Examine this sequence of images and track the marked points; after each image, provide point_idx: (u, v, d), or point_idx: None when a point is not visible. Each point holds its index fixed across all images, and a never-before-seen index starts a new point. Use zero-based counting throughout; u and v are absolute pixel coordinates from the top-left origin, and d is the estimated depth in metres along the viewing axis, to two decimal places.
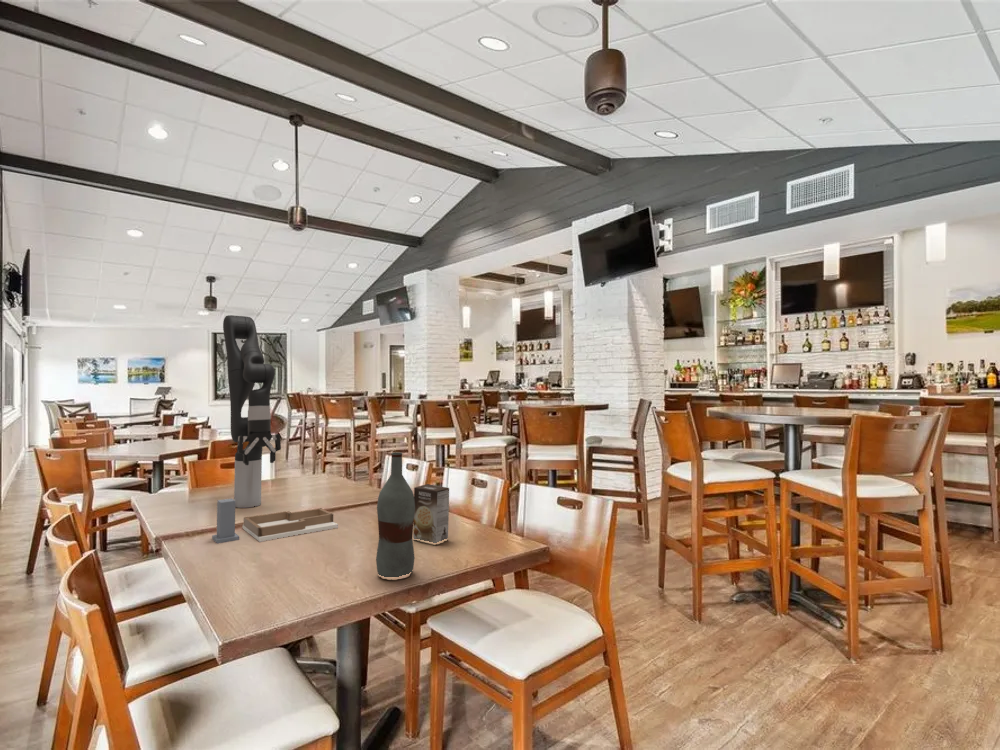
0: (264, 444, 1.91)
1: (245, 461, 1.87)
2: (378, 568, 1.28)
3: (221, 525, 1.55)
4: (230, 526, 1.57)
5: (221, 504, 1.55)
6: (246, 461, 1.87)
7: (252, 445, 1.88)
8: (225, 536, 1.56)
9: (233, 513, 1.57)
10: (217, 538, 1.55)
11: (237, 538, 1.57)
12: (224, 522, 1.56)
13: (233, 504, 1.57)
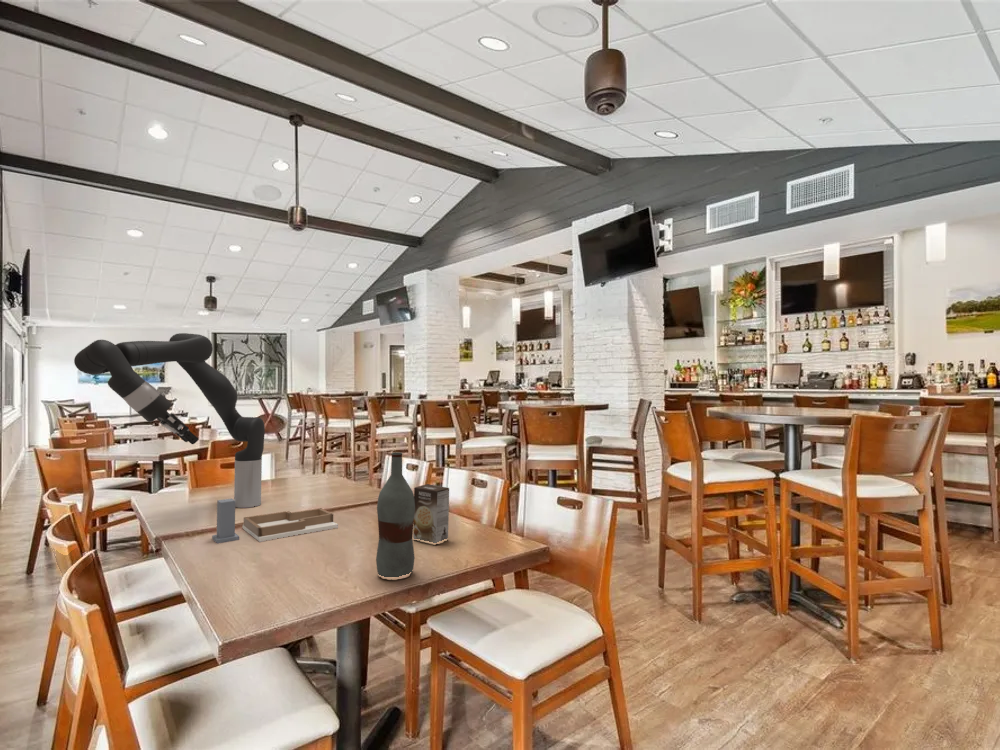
0: None
1: None
2: (378, 568, 1.28)
3: (221, 525, 1.55)
4: (230, 526, 1.57)
5: (221, 504, 1.55)
6: None
7: (167, 428, 1.53)
8: (225, 536, 1.56)
9: (233, 513, 1.57)
10: (217, 538, 1.55)
11: (237, 538, 1.57)
12: (224, 522, 1.56)
13: (233, 504, 1.57)
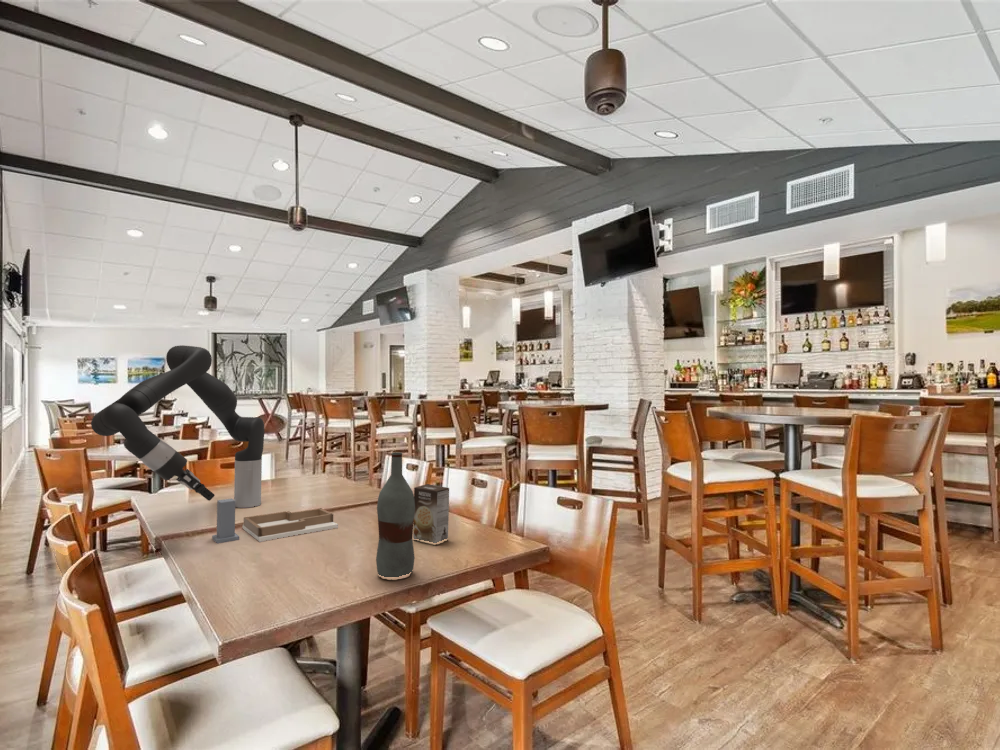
0: None
1: None
2: (378, 568, 1.28)
3: (221, 525, 1.55)
4: (230, 526, 1.57)
5: (221, 504, 1.55)
6: None
7: None
8: (225, 536, 1.56)
9: (233, 513, 1.57)
10: (217, 538, 1.55)
11: (237, 538, 1.57)
12: (224, 522, 1.56)
13: (233, 504, 1.57)
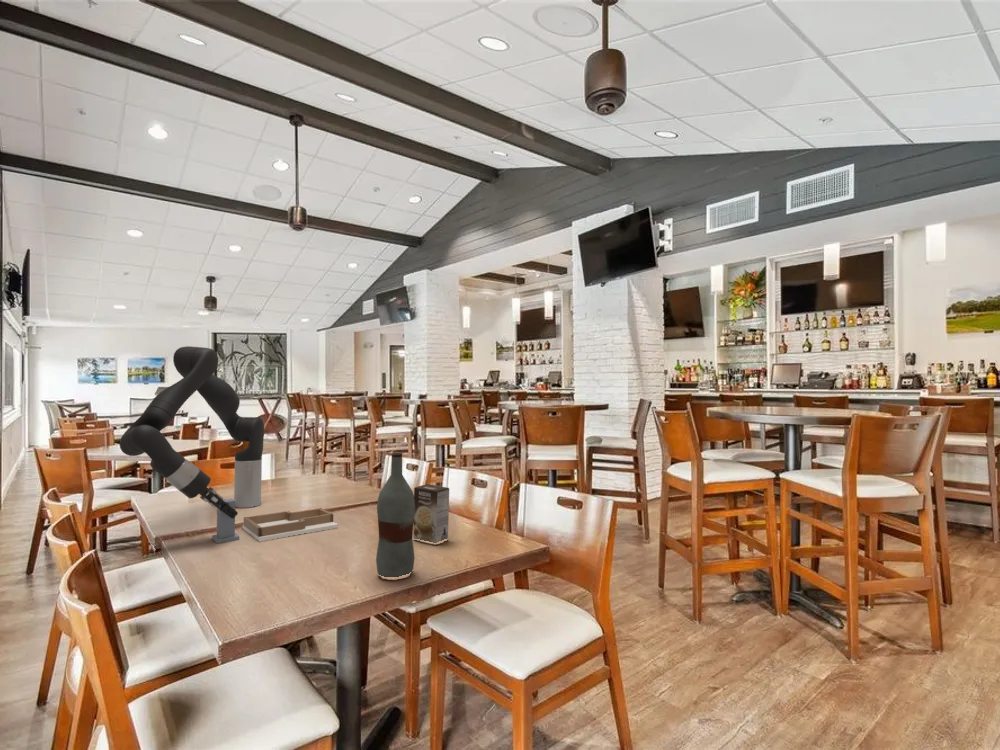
0: None
1: None
2: (378, 568, 1.28)
3: (221, 525, 1.55)
4: (230, 526, 1.57)
5: (221, 504, 1.55)
6: None
7: None
8: (225, 536, 1.56)
9: None
10: (217, 538, 1.55)
11: (237, 538, 1.57)
12: (224, 521, 1.56)
13: (233, 504, 1.57)
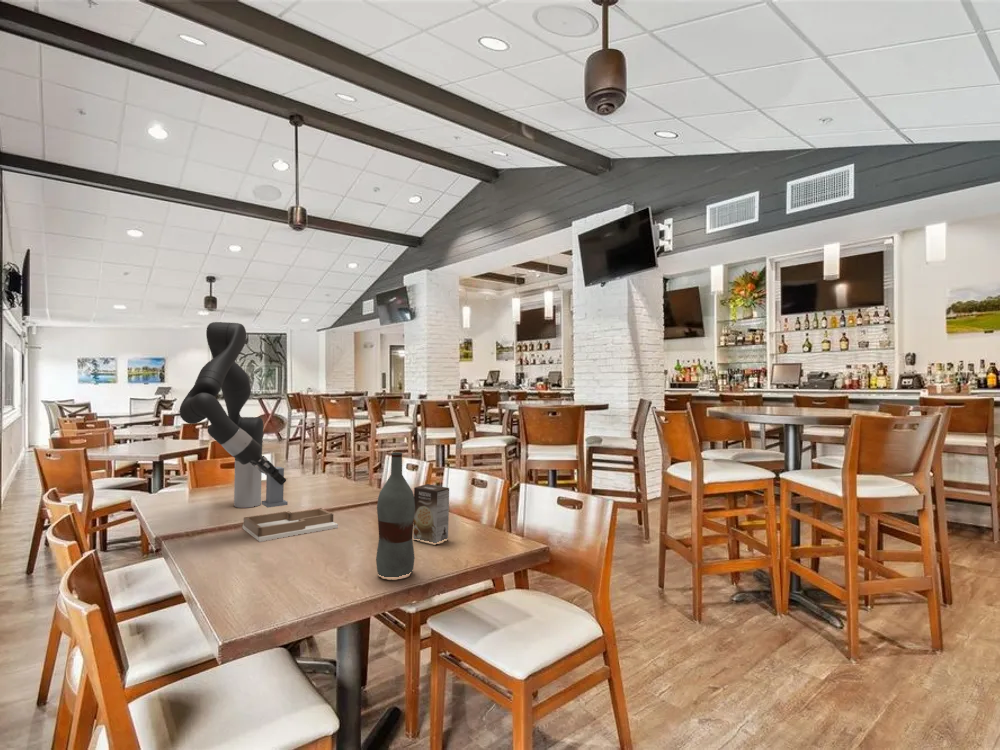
0: None
1: None
2: (378, 568, 1.28)
3: (271, 490, 1.64)
4: (279, 492, 1.66)
5: (271, 471, 1.64)
6: None
7: (258, 470, 1.66)
8: (274, 501, 1.65)
9: None
10: (267, 503, 1.64)
11: (285, 503, 1.66)
12: (274, 487, 1.65)
13: (282, 471, 1.67)
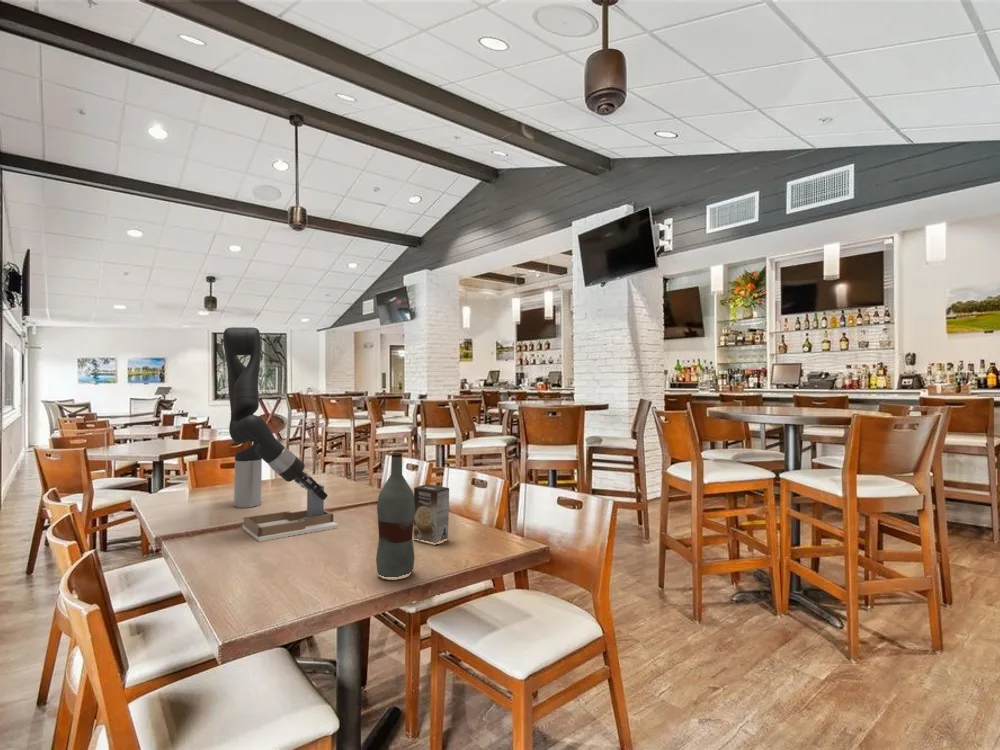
0: None
1: None
2: (378, 568, 1.28)
3: (312, 507, 1.73)
4: (320, 508, 1.74)
5: None
6: None
7: (300, 485, 1.75)
8: None
9: None
10: None
11: None
12: (315, 504, 1.73)
13: (322, 489, 1.75)
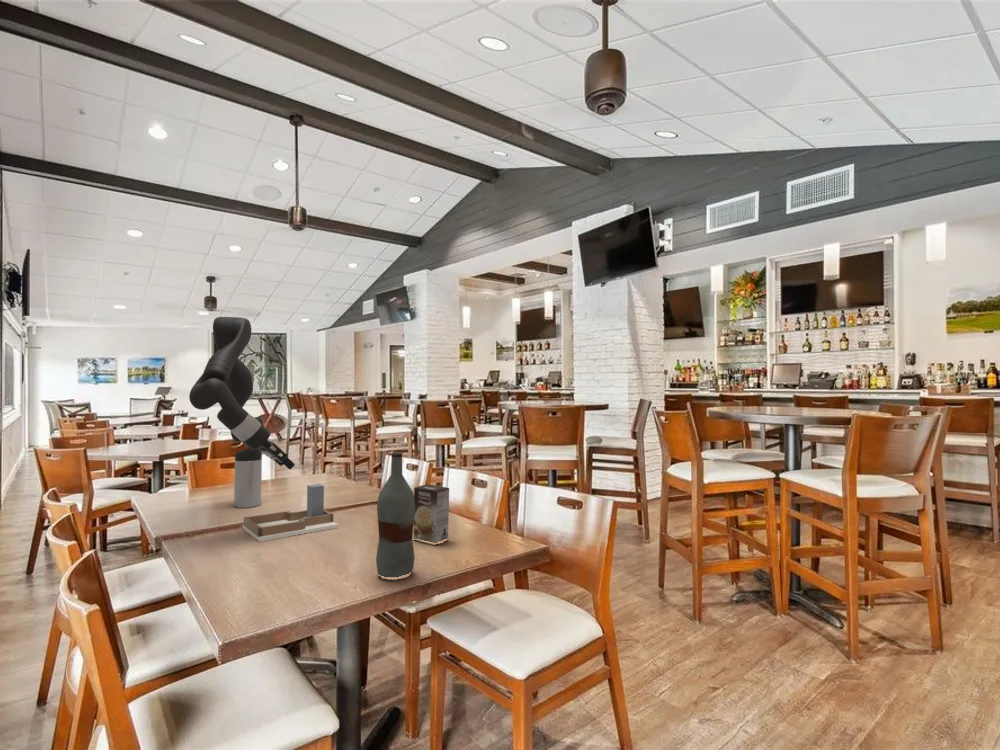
0: None
1: None
2: (378, 568, 1.28)
3: (312, 507, 1.73)
4: (320, 508, 1.74)
5: (312, 488, 1.73)
6: None
7: (265, 454, 1.68)
8: None
9: (322, 497, 1.75)
10: None
11: None
12: (315, 504, 1.73)
13: (322, 489, 1.75)
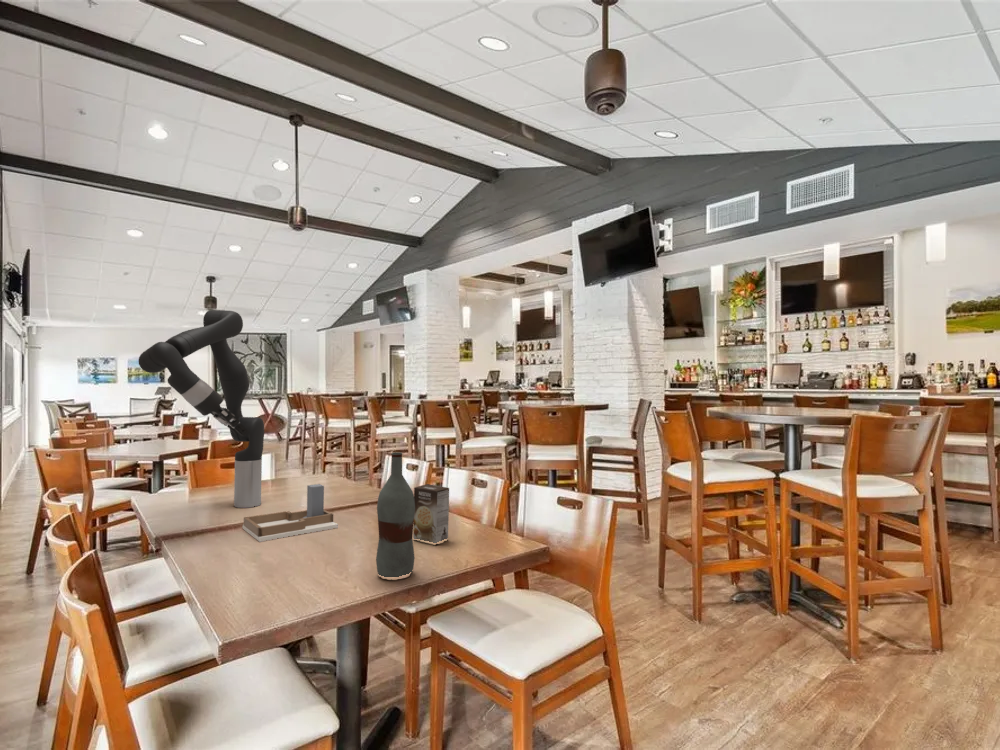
0: None
1: None
2: (378, 568, 1.28)
3: (312, 507, 1.73)
4: (320, 508, 1.74)
5: (312, 488, 1.73)
6: None
7: (219, 421, 1.67)
8: None
9: (322, 497, 1.75)
10: None
11: None
12: (315, 504, 1.73)
13: (322, 489, 1.75)
